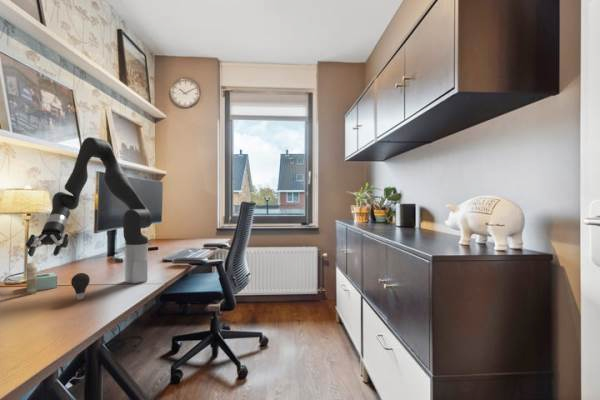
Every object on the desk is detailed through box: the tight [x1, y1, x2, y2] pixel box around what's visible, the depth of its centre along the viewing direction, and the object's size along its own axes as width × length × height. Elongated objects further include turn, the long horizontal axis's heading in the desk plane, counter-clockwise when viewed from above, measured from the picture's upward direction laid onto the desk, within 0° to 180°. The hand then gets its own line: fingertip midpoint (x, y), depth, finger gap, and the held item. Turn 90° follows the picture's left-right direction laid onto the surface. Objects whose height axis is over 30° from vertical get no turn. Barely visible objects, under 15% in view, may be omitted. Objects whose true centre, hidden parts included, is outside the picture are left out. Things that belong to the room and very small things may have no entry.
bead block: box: [36, 272, 58, 292], centre depth 128 cm, size 9×9×5 cm
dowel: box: [25, 262, 38, 296], centre depth 120 cm, size 3×3×12 cm
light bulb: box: [70, 272, 90, 301], centre depth 113 cm, size 6×6×10 cm
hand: (42, 255), depth 129 cm, fingers open, 8 cm apart
